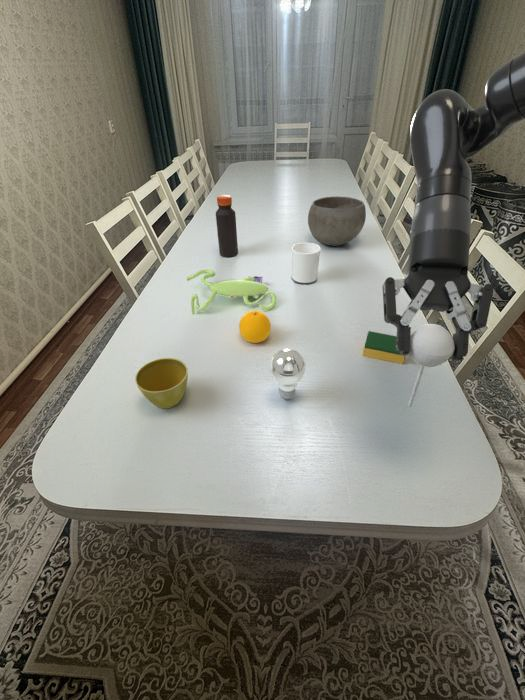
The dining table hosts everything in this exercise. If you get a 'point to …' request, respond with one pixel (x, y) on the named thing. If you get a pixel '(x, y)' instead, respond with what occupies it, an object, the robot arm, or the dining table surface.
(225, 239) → the bottle
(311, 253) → the mug
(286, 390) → the light bulb
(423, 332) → the lollipop
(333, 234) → the bowl
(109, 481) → the dining table surface
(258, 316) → the orange
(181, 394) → the flower pot
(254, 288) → the figurine
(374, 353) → the sponge
